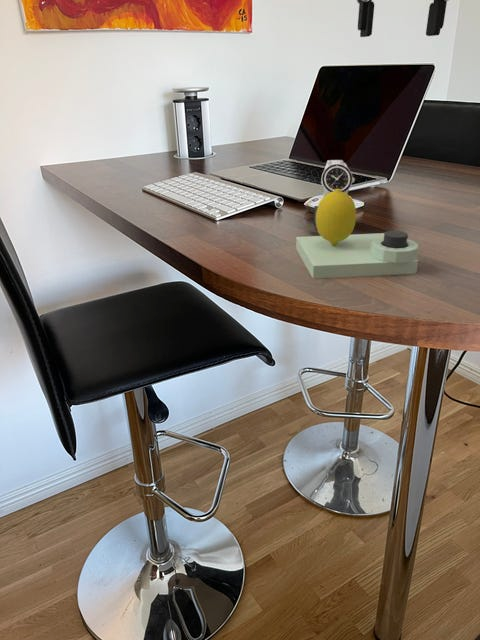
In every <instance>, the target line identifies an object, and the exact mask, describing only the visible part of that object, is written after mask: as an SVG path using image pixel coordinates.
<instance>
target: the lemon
mask: <svg viewBox="0 0 480 640" xmlns="http://www.w3.org/2000/svg"><path fill="white" fill-rule="evenodd" d="M317 206H318V208H317V212H316V227H317V230H318V231H317V233H318V234H319V236H322V237H323V238H324V239H325V240H328V241H329V242H330V243H331V244H332V245H336V244H337V243H338V242H339V241H342V240H344V239H346V238H347V237H348V236H349V235H352V234H353V231H354V228H355V226H356V221H357V209H356V204H355V202H354V200H353V198H352V197H351V196H350V195H349V193H348V194H346V193H344V192H342V191H341V190H340V189H335V190H334V191H333V192H330V193H328V194H326V195H325V196H323V197H322V198H321V199H320V201H319V203H318V205H317Z"/></svg>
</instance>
